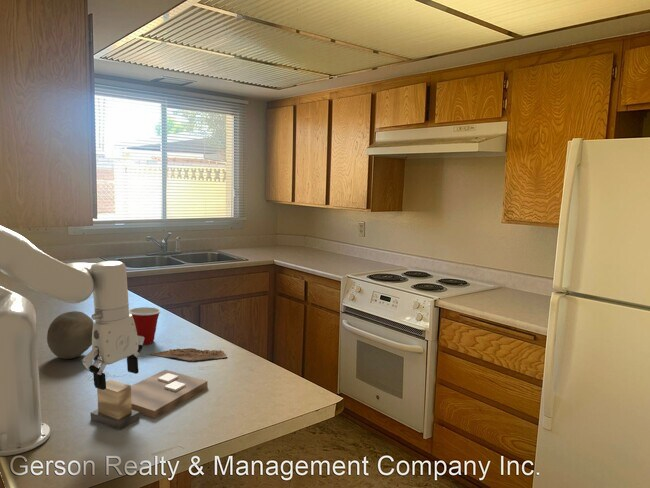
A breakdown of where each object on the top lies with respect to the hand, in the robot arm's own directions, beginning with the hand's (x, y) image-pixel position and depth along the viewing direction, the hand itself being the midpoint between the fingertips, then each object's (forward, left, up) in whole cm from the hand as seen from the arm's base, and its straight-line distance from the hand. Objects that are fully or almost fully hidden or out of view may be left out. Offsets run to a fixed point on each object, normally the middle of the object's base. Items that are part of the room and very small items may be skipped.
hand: (117, 380), depth 118 cm
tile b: (+20, +3, -8) cm, 22 cm away
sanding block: (-1, 0, -10) cm, 10 cm away
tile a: (+17, -3, -8) cm, 19 cm away
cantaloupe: (+20, +44, -10) cm, 50 cm away
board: (+14, 0, -10) cm, 18 cm away
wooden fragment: (+40, +13, -11) cm, 44 cm away
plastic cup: (+42, +35, -10) cm, 56 cm away
